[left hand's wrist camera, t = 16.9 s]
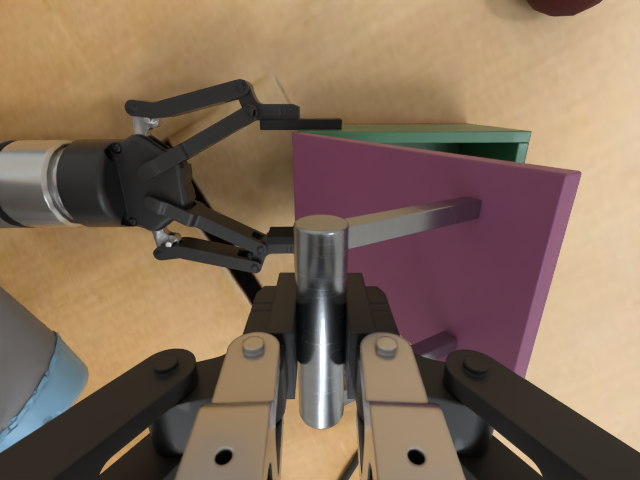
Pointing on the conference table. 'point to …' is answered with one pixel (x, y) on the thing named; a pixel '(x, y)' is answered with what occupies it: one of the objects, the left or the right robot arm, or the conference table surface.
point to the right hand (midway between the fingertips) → (339, 182)
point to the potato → (562, 6)
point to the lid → (420, 253)
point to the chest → (441, 138)
